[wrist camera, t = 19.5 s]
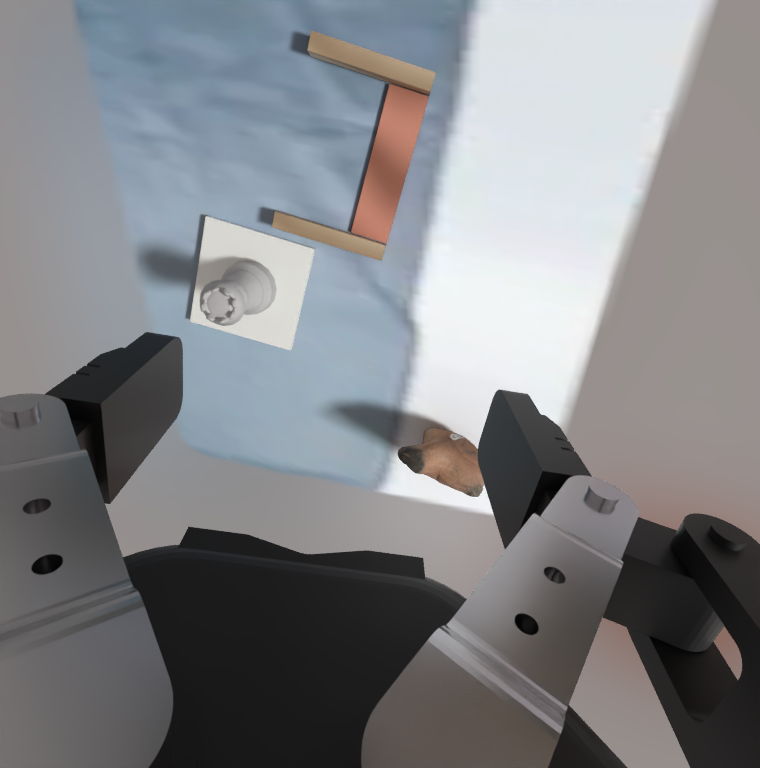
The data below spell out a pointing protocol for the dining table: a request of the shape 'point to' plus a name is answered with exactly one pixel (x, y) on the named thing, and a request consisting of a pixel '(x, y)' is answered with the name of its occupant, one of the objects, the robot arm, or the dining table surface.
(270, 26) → the dining table surface
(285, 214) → the wooden u-shaped frame
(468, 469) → the oil lamp
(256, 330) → the tile
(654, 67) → the dining table surface
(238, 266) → the rook chess piece
